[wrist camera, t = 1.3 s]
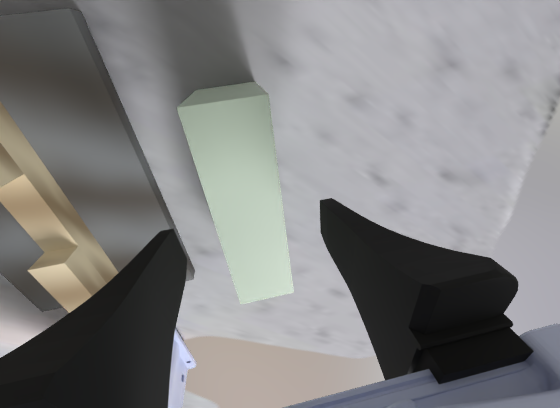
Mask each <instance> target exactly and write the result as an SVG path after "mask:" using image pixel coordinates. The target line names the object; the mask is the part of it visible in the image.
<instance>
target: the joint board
mask: <svg viewBox="0 0 560 408" xmlns="http://www.w3.org/2000/svg"><path fill="white" fill-rule="evenodd" d="M173 228H174V231H175V233H176V235H177V237H178V239H179V242H180V244H181V246H182V248H183V251H184V253H185V255H186V257H187V273H186V281H189V280H193V278H194V273H195V270H194V268H193V265H192V263H191V261H190V259H189V256H188V254H187V252H186V249H185V247H184V245H183V243H182V240H181V238H180V236H179V233H178V231H177V229H176V227H175V224H174V222H173V220H172V217H171V215H170V213H169V211H168V208H167V206H166V204H165V202H164V199H163V197H162V195H161V192H160V190H159V188H158V186H157V183H156V181H155V179H154V176H153V174H152V172H151V170H150V167H149V165H148V163H147V160H146V158H145V156H144V154H143V151H142V149H141V147H140V144H139V142H138V140H137V138H136V135H135V133H134V131H133V129H132V126H131V124H130V122H129V119H128V117H127V115H126V113H125V110H124V108H123V106H122V103H121V101H120V99H119V97H118V94H117V92H116V90H115V87H114V85H113V83H112V81H111V78H110V76H109V74H108V72H107V69H106V67H105V65H104V62H103V60H102V58H101V56H100V53H99V51H98V49H97V46H96V44H95V42H94V40H93V37H92V35H91V33H90V30H89V28H88V26H87V24H86V21H85V19H84V17H83V15H82V12H81V11H77V10H74V9H71V8H65V9H56V10H47V11H38V12H28V13H19V14H10V15H1V16H0V273H1V274H2V275H3V276H4V277H5V278H6V279H7V280H8V281H9V282H11V283H12V284H13V285H14V286H15V287H16V288H17V289H18V290H19V291H20V292H21V293H22V294H23V295H25V296H26V297H27V298H28V299H29V300H30V301H31V302H32V303H33V304H34V305H35V306H36V307H37V308H39V309H40V310H41V311H42V312H43V311H48V310H52V309H57V308H62V307H64V308H65V309H66V310H67V311H68V312H69V313H70V312H72V311H73V310H74V309H76V308H77V307H78V306H80V305H81V304H83V303H84V302H85V301H86V300H88V299H89V298H90V297H91V296H93V295H94V294H95V293H96V292H98V291H99V290H100V289H101V288H102V287H103V286H105V285H106V284H107V283H108V282H109V281H110V280H111V279H113V278H114V277H115V276H116V275H117V274H118V273H119V272H120V271H121V270H122V269H123V268H124V267H125V266H126V265H127V264H128V263H129V262H130V261H131V260H132V259H133V258H134V257H135V256H136V255H137V254H138V253H139V252H140V251H141V250H142V249H143V248H144V247H145V246H146V245H147V244H148V243H149V242H150V241H151V240H152V239H153V238H154V237H155V236H156V235H157V234H158V233H159V232H160V231H163V230H168V229H173Z"/></svg>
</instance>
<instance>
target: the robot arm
mask: <svg viewBox="0 0 560 408" xmlns="http://www.w3.org/2000/svg"><path fill="white" fill-rule="evenodd" d="M320 223H321V234H322V237H323V240H324V242H325V245H326V247H327V249H328V251H329V253H330V255H331V257H332V259H333V260H334V262H335V264H336V266H337V268H338V269H339V271H340V273H341V275H342V277H343V278H344V280H345V282H346V284H347V286H348V288H349V290H350V292H351V294H352V296H353V298H354V301H355V303H356V306H357V308H358V310H359V313H360V315H361V318H362V320H363V322H364V325H365V327H366V330H367V332H368V335H369V338H370V340H371V343H372V345H373V348H374V351H375V353H376V356H377V359H378V362H379V364H380V367H381V370H382V372H383V375H384V378H385V381H381V382H377V383H374V384H370V385H366V386H362V387H359V388H355V389H351V390H348V391H344V392H340V393H336V394H333V395H328V396H325V397H321V398H317V399H313V400H310V401H306V402H302V403H298V404H295V405H291V406H287V407H284V408H560V324H553V325H549V326H545V327H542V328H538V329H534V330H530V331H528V332H525V333H523V334H522V335H520V336H518V335H517V334H515V332H513V330H512V329H511V328H510V327H512V326H513V323H512V321H511V320H510V319H509V318H507V316H505V315H504V314H503V313H504V312H505V310H506V309H507V307H508V306H509V304H510V303H511V301H512V300H513V298H514V297H515V295H516V293H517V291H518V281H517V279H516V277H514V276H513V275H512V274H511V273H510V272H508V271H507V270H506V269H504V268H503V267H502V266H500V265H499V264H498V263H497V262H495V261H494V260H493V259H491V258H489V257H483V256H478V255H473V254H468V253H463V252H458V251H454V250H450V249H446V248H442V247H438V246H434V245H431V244H427V243H424V242H421V241H418V240H415V239H412V238H409V237H406V236H403V235H401V234H398V233H396V232H394V231H391V230H389V229H386V228H384V227H382V226H380V225H378V224H376V223H374V222H372V221H370V220H368V219H366V218H364V217H363V216H361V215H359V214H357V213H356V212H354V211H352V210H350V209H349V208H347V207H346V206H344V205H342V204H341V203H339V202H337V201H336V200H334V199H332V198H330V199H325V200H320ZM186 273H187V257H186V255H185V253H184V251H183V248H182V246H181V244H180V242H179V239H178V237H177V235H176V233H175V231H174V228H173V229H168V230H163V231H160V232H159V233H158V234H157V235H156V236H155V237H154V238H153V239H152V240H151V241H150V242H149V243H148V244H147V245H146V246H145V247H144V248H143V249H142V250H141V251H140V252H139V253H138V254H137V255H136V256H135V257H134V258H133V259H132V260H131V261H130V262H129V263H128V264H127V265H126V266H125V267H124V268H123V269H122V270H121V271H120V272H119V273H118V274H117V275H116V276H115V277H114V278H113V279H111V280H110V281H109V282H108V283H107V284H106V285H105V286H103V287H102V288H101V289H100V290H99V291H98V292H96V293H95V294H94V295H93V296H91V297H90V298H89V299H88V300H86V301H85V302H84V303H83V304H81V305H80V306H78V307H77V308H76V309H74V310H73V311H72V312H70V313H69V314H68V315H66V316H65V317H63V318H62V319H61V320H59V321H58V322H56V323H55V324H54V325H52V326H51V327H49V328H48V329H46V330H45V331H43V332H42V333H40V334H39V335H37V336H35V337H34V338H32V339H31V340H29V341H28V342H26V343H24V344H23V345H21V346H20V347H18V348H16V349H15V350H13V351H11V352H10V353H8V354H6V355H5V356H3V357H1V358H0V408H182V406H183V399H184V392H185V385H186V377H187V370H188V369H191V368H194V367H196V361H195V359H194V358H193V356H192V355H191V353H190V351H189V350H188V348H187V346H186V345H185V343H184V341H183V340H182V338H181V337H180V335H179V333H178V332H177V330H176V328H175V327H176V322H177V317H178V313H179V308H180V304H181V299H182V295H183V290H184V286H185V281H186Z"/></svg>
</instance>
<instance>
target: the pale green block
mask: <svg viewBox="0 0 560 408" xmlns="http://www.w3.org/2000/svg"><path fill="white" fill-rule="evenodd" d="M177 111H178V114H179V117H180V120H181V123H182V126H183V129H184V132H185V135H186V138H187V141H188V145H189V148H190V151H191V154H192V157H193V160H194V163H195V166H196V169H197V172H198V175H199V178H200V181H201V184H202V188H203V191H204V194H205V197H206V200H207V203H208V206H209V209H210V212H211V215H212V218H213V221H214V224H215V227H216V230H217V234H218V237H219V240H220V243H221V246H222V249H223V252H224V255H225V258H226V261H227V264H228V267H229V270H230V273H231V277H232V280H233V283H234V286H235V289H236V292H237V295H238V298H239V301H240V304H245V303H250V302H254V301H259V300H263V299H267V298H272V297H276V296H281V295H285V294H289V293H294V291H293V283H292V275H291V268H290V260H289V252H288V244H287V236H286V228H285V220H284V213H283V205H282V197H281V189H280V181H279V173H278V166H277V158H276V150H275V142H274V134H273V126H272V118H271V111H270V103H269V95H268V93H267V92H266V91H265V90H263V89H262V88H261V87H260V86H259V85H258V84H257V83H256V82H248V83H241V84H234V85H227V86H220V87H213V88H206V89H199V90H195V91H194V92H193V93H192V94H191V95H190V96H189V97H188V98H187V99H186V100H185V101H183V102H182V103H181V104H180V105H179V106H178V107H177Z"/></svg>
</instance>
